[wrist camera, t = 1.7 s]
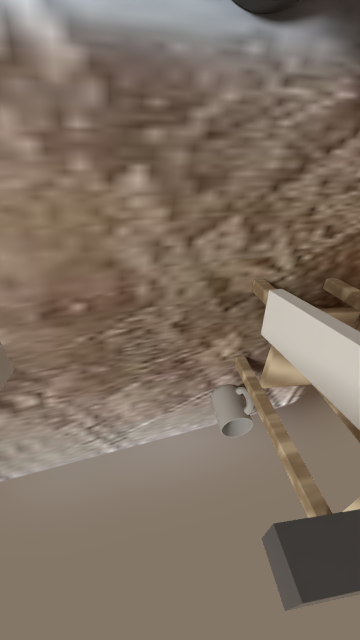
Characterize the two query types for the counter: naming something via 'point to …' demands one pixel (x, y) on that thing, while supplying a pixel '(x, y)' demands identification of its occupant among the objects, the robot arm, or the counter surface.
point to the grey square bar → (315, 558)
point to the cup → (232, 410)
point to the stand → (286, 374)
